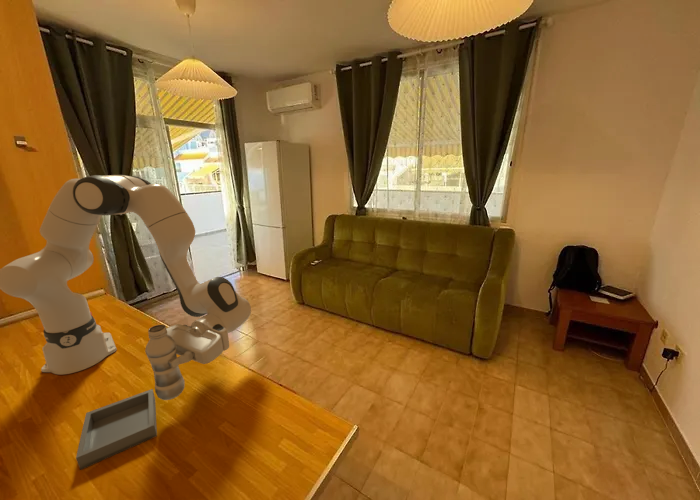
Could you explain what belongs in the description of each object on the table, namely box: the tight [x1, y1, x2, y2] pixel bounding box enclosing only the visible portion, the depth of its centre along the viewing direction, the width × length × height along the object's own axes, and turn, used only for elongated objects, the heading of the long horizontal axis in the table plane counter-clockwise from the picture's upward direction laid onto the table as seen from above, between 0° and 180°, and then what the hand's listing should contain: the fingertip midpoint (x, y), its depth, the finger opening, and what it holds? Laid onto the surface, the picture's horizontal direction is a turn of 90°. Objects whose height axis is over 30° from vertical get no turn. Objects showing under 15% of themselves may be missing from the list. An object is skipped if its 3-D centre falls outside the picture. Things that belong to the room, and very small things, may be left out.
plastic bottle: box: [144, 324, 185, 401], centre depth 72 cm, size 6×7×20 cm
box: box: [75, 388, 158, 470], centre depth 71 cm, size 14×14×4 cm
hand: (160, 360), depth 71 cm, fingers closed on plastic bottle, 6 cm apart
